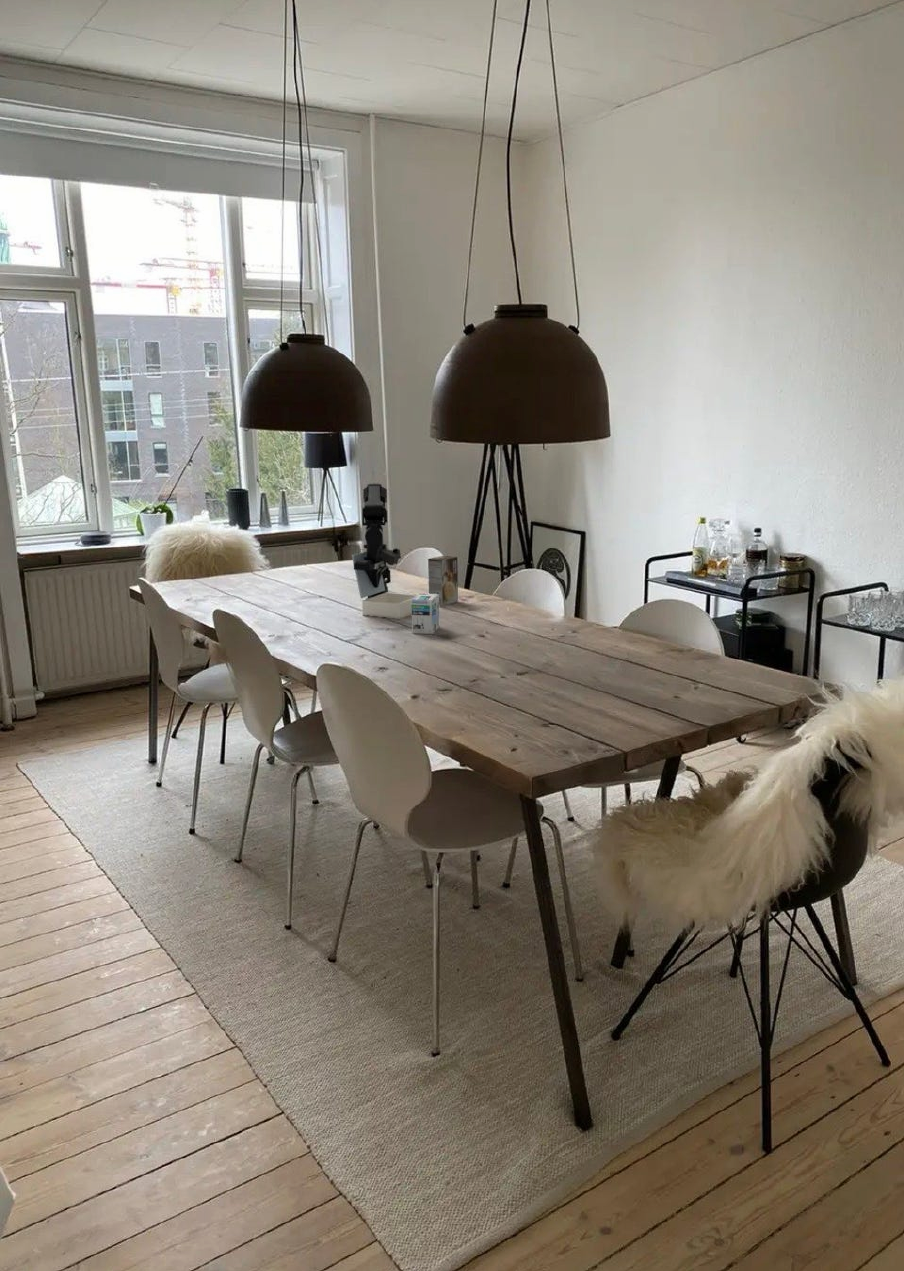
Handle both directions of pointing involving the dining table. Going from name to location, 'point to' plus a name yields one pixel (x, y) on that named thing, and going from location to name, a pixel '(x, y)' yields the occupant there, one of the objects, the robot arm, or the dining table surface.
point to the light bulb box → (425, 613)
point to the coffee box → (443, 578)
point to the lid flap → (366, 579)
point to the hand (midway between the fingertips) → (376, 587)
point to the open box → (388, 605)
